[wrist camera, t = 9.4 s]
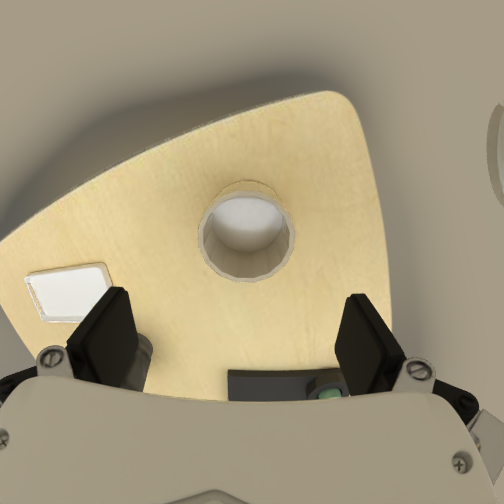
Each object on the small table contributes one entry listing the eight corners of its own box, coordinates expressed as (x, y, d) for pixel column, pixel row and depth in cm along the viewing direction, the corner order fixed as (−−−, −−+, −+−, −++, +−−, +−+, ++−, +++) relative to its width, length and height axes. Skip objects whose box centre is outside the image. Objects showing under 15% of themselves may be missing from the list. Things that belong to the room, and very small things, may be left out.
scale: (349, 364, 33) (355, 380, 31) (327, 420, 39) (330, 434, 36) (228, 367, 33) (226, 384, 30) (230, 423, 39) (229, 438, 36)
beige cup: (287, 182, 25) (298, 193, 19) (282, 254, 27) (290, 283, 22) (209, 179, 25) (197, 190, 19) (210, 252, 27) (200, 280, 22)
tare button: (342, 386, 32) (345, 396, 30) (336, 399, 33) (339, 408, 31) (320, 388, 31) (323, 398, 30) (316, 401, 33) (318, 411, 31)
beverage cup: (173, 348, 32) (131, 492, 14) (146, 371, 34) (104, 493, 15) (127, 313, 30) (51, 450, 12) (104, 341, 32) (41, 458, 14)
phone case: (104, 261, 28) (27, 272, 28) (99, 266, 26) (22, 277, 27) (125, 316, 30) (47, 317, 31) (121, 322, 29) (42, 322, 30)
